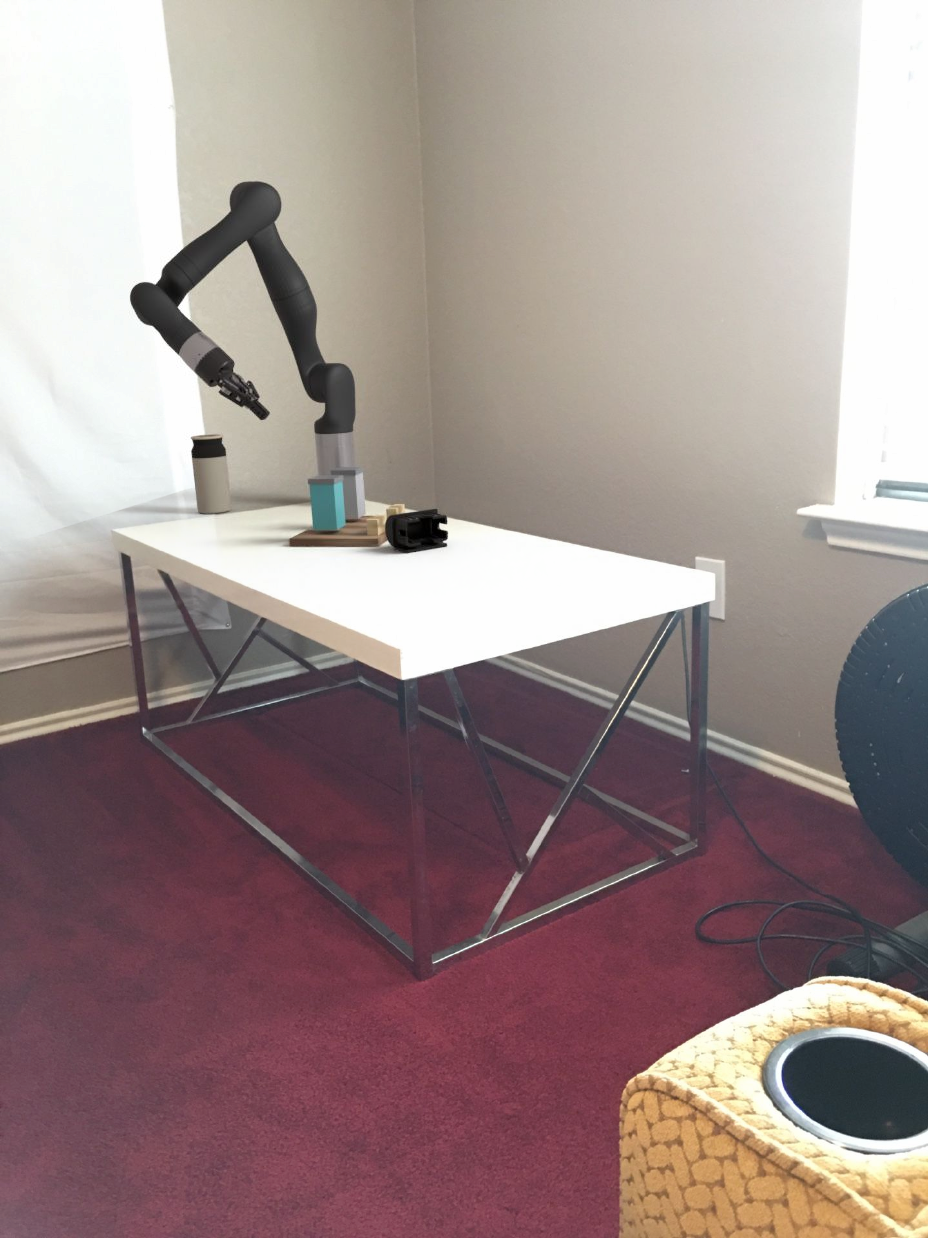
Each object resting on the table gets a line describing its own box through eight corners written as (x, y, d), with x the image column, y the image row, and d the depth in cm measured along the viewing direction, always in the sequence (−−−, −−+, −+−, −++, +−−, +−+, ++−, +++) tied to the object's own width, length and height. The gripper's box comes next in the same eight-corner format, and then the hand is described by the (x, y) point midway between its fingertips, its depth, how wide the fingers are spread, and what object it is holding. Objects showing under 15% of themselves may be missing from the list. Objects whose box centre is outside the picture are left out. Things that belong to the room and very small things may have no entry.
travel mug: (237, 508, 251) (229, 433, 247) (222, 514, 244) (214, 437, 239) (207, 508, 253) (199, 434, 248) (192, 514, 246) (183, 437, 241)
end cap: (430, 541, 201) (428, 506, 199) (450, 546, 195) (448, 510, 193) (385, 548, 195) (383, 513, 194) (404, 554, 190) (402, 517, 188)
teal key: (321, 524, 209) (317, 475, 206) (346, 524, 207) (343, 474, 205) (311, 529, 204) (307, 479, 201) (337, 529, 202) (333, 478, 200)
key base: (335, 522, 226) (333, 502, 225) (414, 522, 222) (413, 501, 221) (289, 546, 201) (287, 523, 200) (378, 546, 197) (376, 523, 196)
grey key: (342, 514, 221) (339, 467, 218) (366, 513, 220) (363, 466, 217) (334, 518, 216) (330, 470, 213) (358, 518, 215) (355, 469, 212)
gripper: (202, 345, 210) (264, 405, 210) (230, 345, 222) (289, 401, 223) (181, 373, 213) (242, 432, 213) (210, 371, 225) (268, 427, 225)
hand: (266, 416), depth 218 cm, fingers closed
